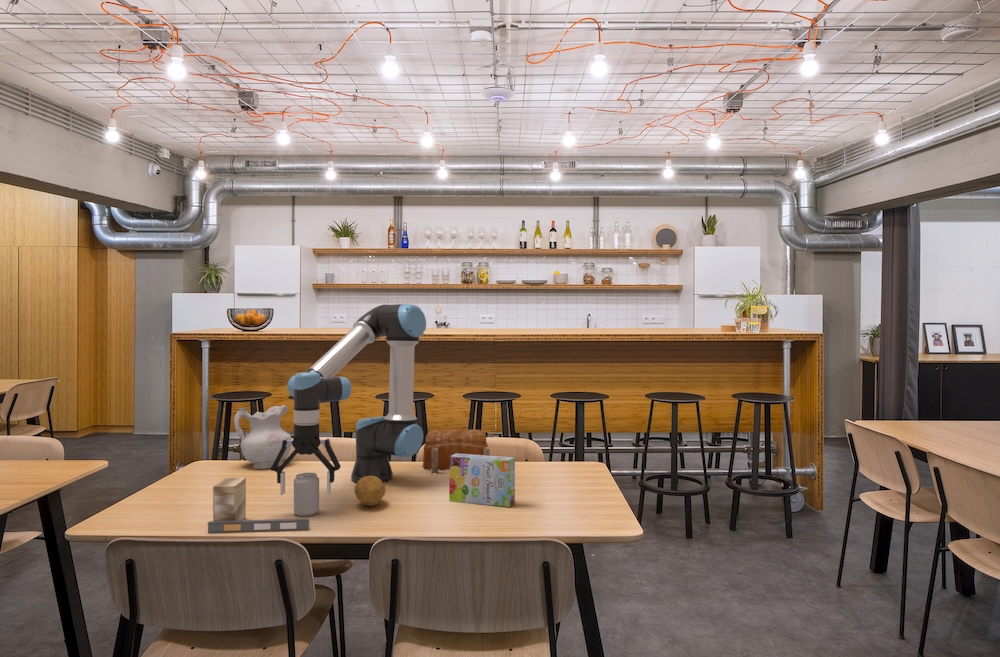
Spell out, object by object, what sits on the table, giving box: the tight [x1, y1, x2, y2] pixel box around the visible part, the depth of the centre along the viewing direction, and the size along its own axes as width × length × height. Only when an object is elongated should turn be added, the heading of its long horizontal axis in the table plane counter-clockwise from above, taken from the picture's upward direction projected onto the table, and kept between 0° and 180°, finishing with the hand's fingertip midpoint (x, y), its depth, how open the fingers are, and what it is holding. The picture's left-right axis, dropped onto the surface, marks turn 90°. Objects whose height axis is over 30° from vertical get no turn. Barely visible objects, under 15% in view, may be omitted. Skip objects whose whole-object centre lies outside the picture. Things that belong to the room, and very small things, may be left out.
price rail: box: [207, 517, 310, 534], centre depth 177 cm, size 27×2×3 cm, turn 96°
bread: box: [422, 428, 489, 471], centre depth 256 cm, size 14×26×16 cm, turn 91°
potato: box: [354, 476, 387, 507], centre depth 202 cm, size 10×13×9 cm
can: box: [293, 472, 320, 517], centre depth 193 cm, size 8×8×12 cm
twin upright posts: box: [431, 446, 491, 474], centre depth 255 cm, size 22×22×10 cm
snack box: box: [448, 454, 516, 508], centre depth 206 cm, size 21×6×15 cm, turn 71°
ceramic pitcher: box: [233, 404, 293, 470], centre depth 255 cm, size 22×20×25 cm
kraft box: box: [212, 477, 247, 521], centre depth 183 cm, size 6×10×12 cm, turn 6°
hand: (305, 493), depth 193 cm, fingers open, 13 cm apart
